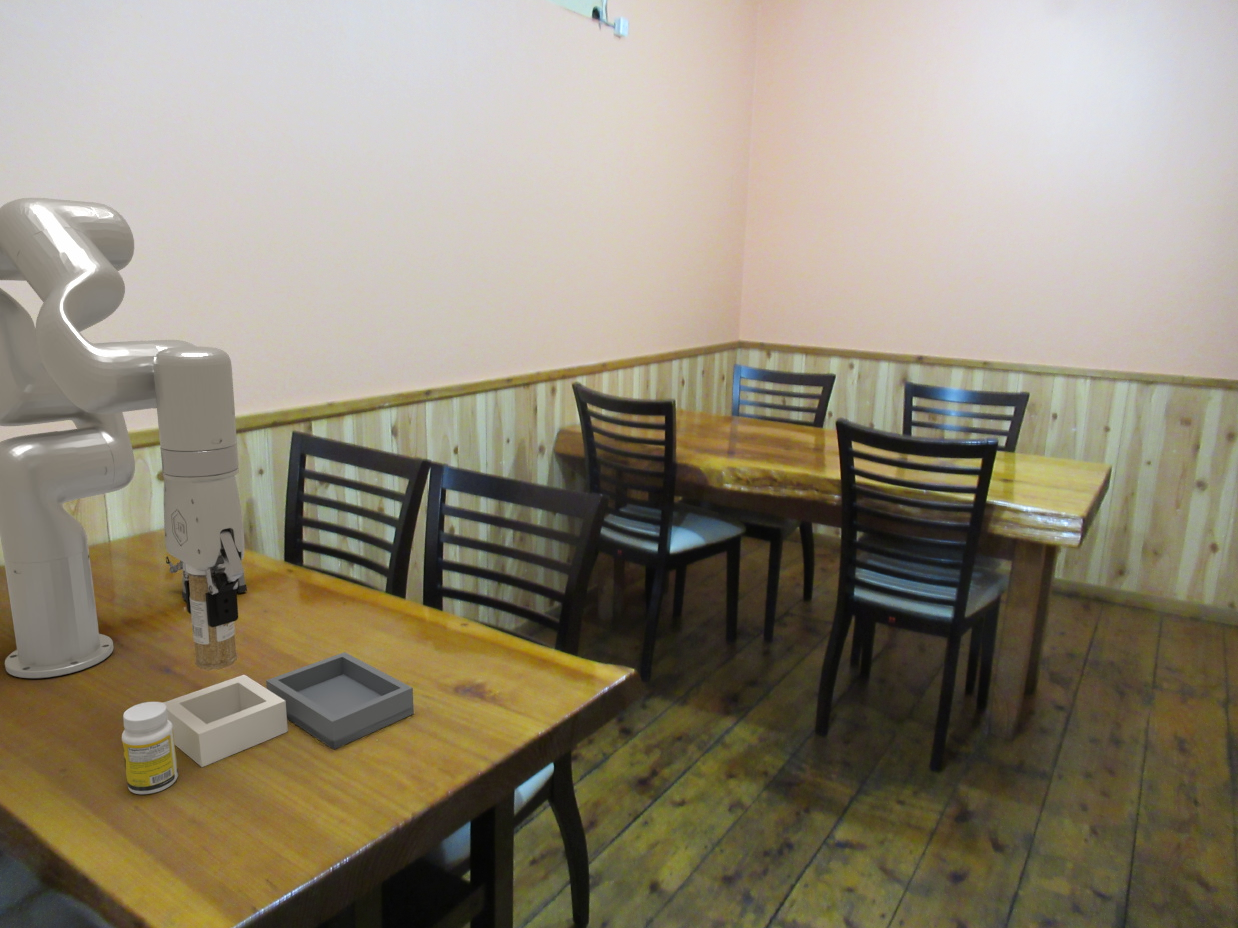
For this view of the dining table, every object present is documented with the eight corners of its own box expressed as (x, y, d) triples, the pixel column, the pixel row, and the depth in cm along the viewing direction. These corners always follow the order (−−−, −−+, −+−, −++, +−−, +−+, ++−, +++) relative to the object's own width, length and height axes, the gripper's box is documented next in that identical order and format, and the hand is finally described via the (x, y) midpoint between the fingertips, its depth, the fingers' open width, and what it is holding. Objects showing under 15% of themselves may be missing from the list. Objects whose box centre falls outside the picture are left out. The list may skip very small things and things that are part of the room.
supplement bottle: (140, 770, 92) (132, 699, 90) (185, 768, 92) (178, 698, 90) (118, 796, 87) (109, 722, 85) (166, 795, 87) (158, 721, 86)
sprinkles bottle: (241, 666, 97) (233, 555, 94) (197, 675, 95) (187, 561, 92) (234, 650, 101) (226, 543, 98) (191, 659, 98) (182, 549, 95)
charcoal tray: (268, 705, 106) (266, 680, 105) (345, 675, 114) (344, 651, 113) (334, 749, 96) (332, 721, 96) (413, 713, 105) (412, 687, 104)
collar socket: (163, 734, 99) (159, 703, 98) (246, 703, 106) (244, 674, 105) (202, 767, 92) (198, 734, 92) (287, 731, 100) (285, 700, 99)
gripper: (132, 453, 95) (147, 605, 99) (200, 480, 84) (214, 649, 88) (200, 444, 100) (211, 588, 104) (272, 469, 90) (281, 628, 94)
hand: (212, 615), depth 96 cm, fingers closed on sprinkles bottle, 4 cm apart
